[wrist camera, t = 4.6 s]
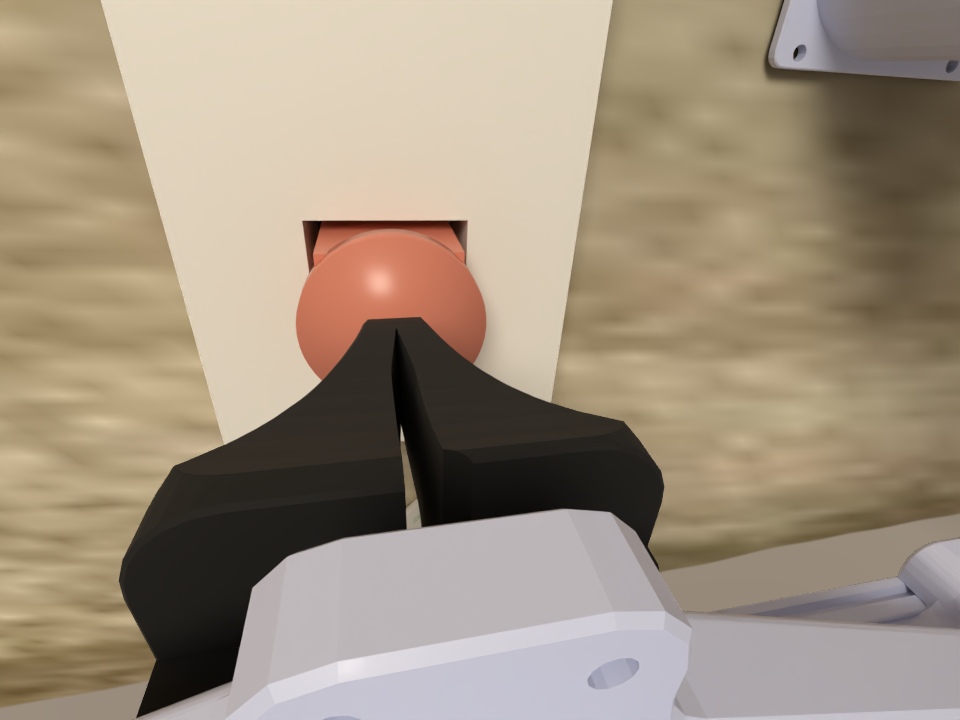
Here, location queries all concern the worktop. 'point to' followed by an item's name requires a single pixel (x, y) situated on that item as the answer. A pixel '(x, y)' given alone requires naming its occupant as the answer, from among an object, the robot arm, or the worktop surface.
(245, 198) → the control box
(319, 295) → the red button
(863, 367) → the worktop surface
